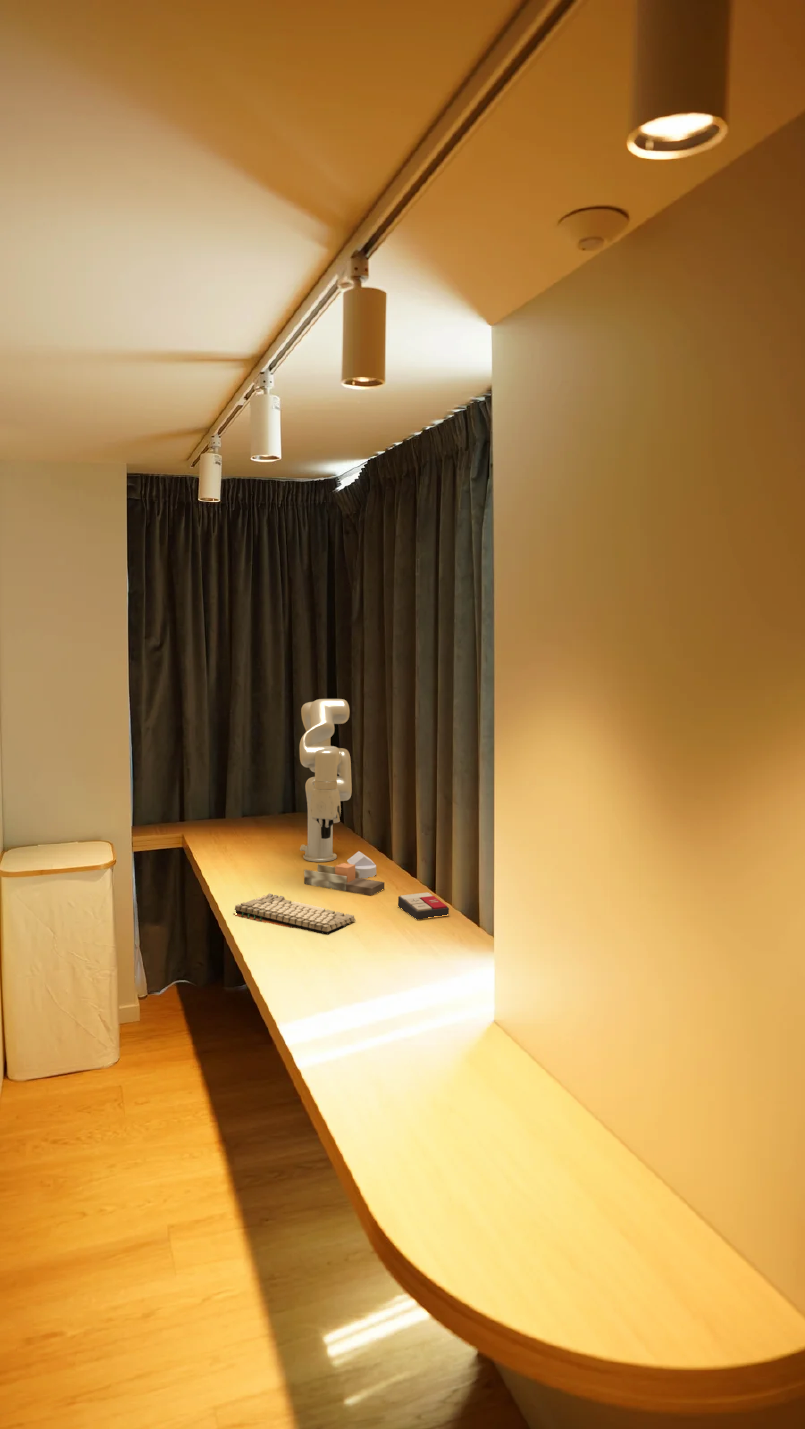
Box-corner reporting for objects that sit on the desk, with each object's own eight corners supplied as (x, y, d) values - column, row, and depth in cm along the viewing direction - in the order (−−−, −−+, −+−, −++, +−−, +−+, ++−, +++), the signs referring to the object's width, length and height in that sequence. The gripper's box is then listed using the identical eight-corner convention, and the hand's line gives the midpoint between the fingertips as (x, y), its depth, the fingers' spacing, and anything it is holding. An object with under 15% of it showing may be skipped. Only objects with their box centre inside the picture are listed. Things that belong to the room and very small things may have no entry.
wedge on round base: (346, 869, 353) (353, 878, 340) (346, 851, 352) (354, 860, 340) (370, 868, 355) (378, 877, 343) (370, 850, 355) (379, 859, 342)
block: (335, 880, 329) (335, 866, 329) (343, 877, 333) (343, 862, 333) (347, 882, 327) (347, 868, 326) (355, 879, 331) (355, 864, 330)
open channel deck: (304, 883, 333) (304, 869, 333) (318, 878, 341) (318, 864, 340) (371, 895, 320) (371, 880, 320) (384, 889, 328) (384, 875, 327)
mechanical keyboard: (362, 921, 296) (362, 910, 295) (326, 939, 280) (326, 927, 279) (266, 901, 315) (266, 891, 315) (227, 917, 299) (227, 906, 299)
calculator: (417, 909, 295) (397, 893, 309) (416, 923, 296) (397, 906, 309) (449, 905, 299) (429, 890, 313) (448, 918, 300) (428, 903, 314)
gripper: (301, 784, 331) (301, 837, 332) (338, 788, 324) (338, 842, 325) (314, 781, 337) (313, 833, 339) (350, 785, 330) (350, 838, 332)
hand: (325, 837), depth 332 cm, fingers closed
